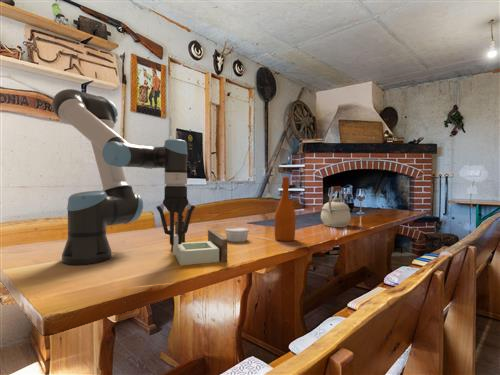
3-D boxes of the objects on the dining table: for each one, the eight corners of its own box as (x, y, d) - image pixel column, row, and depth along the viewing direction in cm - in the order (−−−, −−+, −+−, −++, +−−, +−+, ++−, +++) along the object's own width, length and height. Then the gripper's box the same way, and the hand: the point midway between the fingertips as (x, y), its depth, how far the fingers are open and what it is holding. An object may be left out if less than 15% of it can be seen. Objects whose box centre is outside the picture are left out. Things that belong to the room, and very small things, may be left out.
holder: (180, 265, 96) (180, 251, 96) (175, 255, 108) (175, 243, 108) (219, 261, 101) (219, 248, 101) (209, 252, 113) (210, 241, 113)
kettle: (327, 222, 202) (328, 185, 201) (354, 224, 191) (356, 186, 191) (312, 226, 182) (313, 186, 181) (342, 230, 171) (343, 187, 170)
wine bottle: (298, 239, 142) (299, 177, 142) (289, 242, 134) (291, 176, 133) (280, 236, 148) (281, 176, 147) (270, 240, 139) (271, 176, 138)
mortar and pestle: (173, 252, 113) (173, 205, 112) (169, 249, 118) (170, 204, 118) (190, 251, 116) (191, 205, 115) (185, 247, 121) (186, 204, 121)
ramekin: (236, 236, 146) (236, 226, 146) (253, 240, 139) (253, 229, 139) (220, 240, 138) (220, 229, 137) (237, 244, 131) (238, 232, 130)
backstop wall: (221, 262, 101) (221, 239, 100) (207, 249, 119) (208, 229, 119) (227, 262, 101) (227, 239, 101) (212, 249, 120) (212, 229, 120)
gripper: (156, 185, 95) (156, 258, 96) (197, 185, 100) (196, 255, 100) (155, 185, 102) (155, 252, 103) (193, 185, 107) (192, 250, 107)
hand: (175, 253), depth 101 cm, fingers closed
